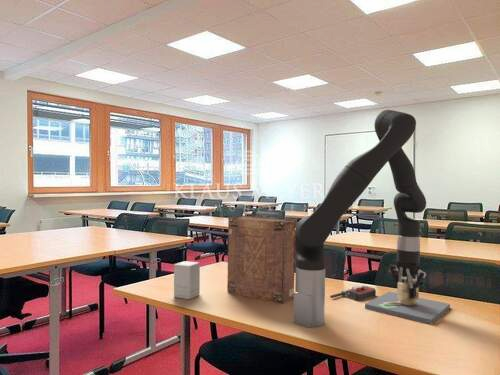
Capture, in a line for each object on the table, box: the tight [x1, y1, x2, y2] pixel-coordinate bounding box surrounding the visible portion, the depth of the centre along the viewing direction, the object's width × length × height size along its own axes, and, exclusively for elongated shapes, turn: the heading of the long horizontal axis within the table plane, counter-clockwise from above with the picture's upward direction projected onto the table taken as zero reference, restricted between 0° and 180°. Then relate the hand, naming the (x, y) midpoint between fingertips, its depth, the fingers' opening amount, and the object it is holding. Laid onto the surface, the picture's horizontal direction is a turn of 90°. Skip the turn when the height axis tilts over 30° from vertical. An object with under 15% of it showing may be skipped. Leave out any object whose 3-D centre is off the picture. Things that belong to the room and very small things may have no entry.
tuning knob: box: [383, 281, 420, 306], centre depth 132 cm, size 14×6×7 cm, turn 106°
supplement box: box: [173, 260, 201, 300], centre depth 143 cm, size 7×7×13 cm
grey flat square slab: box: [364, 291, 451, 325], centre depth 133 cm, size 22×22×2 cm
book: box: [226, 215, 296, 304], centre depth 146 cm, size 25×9×30 cm, turn 57°
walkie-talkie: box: [329, 284, 377, 302], centre depth 145 cm, size 9×4×20 cm
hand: (407, 296), depth 133 cm, fingers closed on tuning knob, 3 cm apart
